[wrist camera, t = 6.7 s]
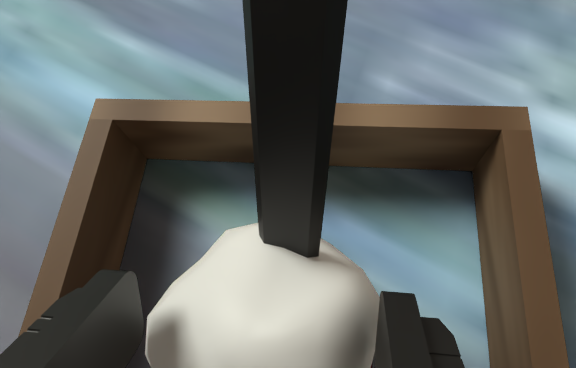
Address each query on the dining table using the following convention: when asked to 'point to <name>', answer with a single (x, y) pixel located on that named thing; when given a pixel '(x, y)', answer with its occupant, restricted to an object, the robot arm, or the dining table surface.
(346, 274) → the cocoa
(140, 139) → the bin
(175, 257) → the dining table surface
